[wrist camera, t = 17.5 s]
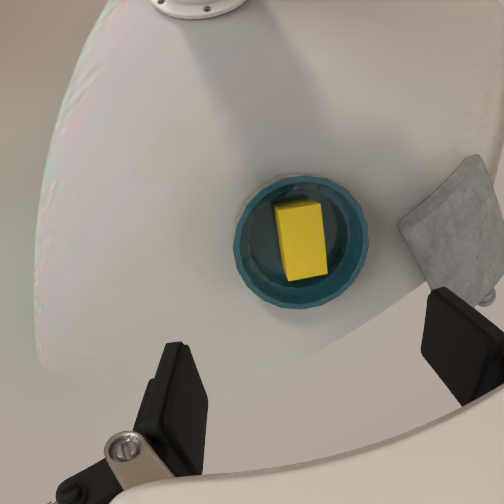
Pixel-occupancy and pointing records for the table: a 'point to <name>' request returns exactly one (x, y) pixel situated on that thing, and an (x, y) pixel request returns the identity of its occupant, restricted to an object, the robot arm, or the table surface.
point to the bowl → (268, 250)
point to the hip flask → (460, 235)
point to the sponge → (301, 238)
